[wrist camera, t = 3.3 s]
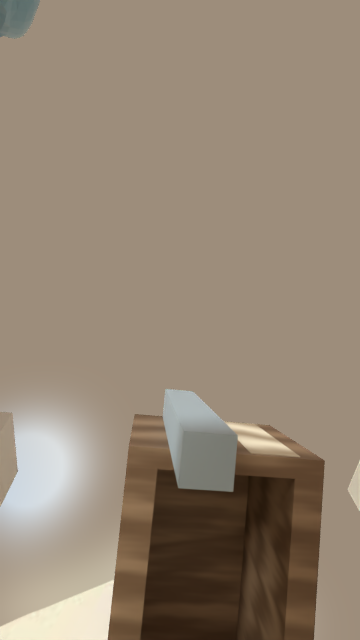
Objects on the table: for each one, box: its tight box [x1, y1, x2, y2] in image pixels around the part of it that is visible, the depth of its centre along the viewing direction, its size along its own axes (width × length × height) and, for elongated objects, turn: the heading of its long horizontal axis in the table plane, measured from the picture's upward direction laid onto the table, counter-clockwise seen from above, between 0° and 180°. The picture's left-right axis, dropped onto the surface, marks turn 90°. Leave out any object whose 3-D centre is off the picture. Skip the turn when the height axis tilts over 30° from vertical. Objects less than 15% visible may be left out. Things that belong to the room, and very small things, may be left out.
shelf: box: [108, 414, 325, 640], centre depth 41 cm, size 16×20×30 cm
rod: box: [163, 389, 238, 492], centre depth 37 cm, size 25×4×4 cm, turn 5°
